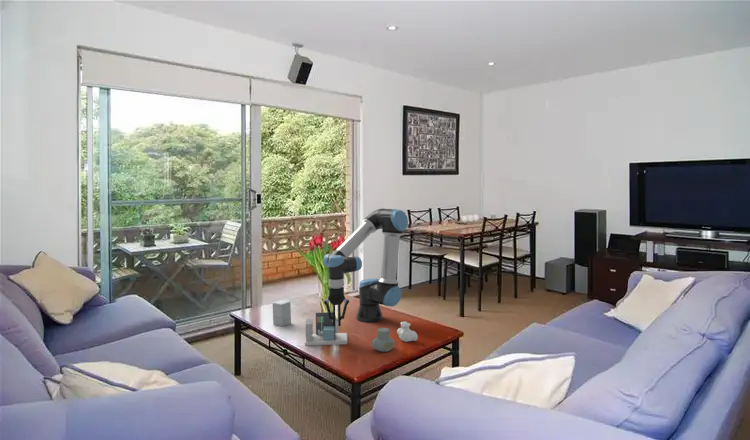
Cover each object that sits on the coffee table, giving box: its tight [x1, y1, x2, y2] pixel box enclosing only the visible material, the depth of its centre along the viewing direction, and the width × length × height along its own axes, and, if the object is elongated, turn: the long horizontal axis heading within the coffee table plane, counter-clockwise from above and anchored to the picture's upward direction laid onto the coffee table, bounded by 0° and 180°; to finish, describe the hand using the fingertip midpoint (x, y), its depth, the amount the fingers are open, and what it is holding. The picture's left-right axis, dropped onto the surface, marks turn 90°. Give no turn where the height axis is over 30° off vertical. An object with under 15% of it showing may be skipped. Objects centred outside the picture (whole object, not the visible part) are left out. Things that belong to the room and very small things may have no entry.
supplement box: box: [272, 299, 292, 327], centre depth 259 cm, size 7×7×13 cm
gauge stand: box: [304, 311, 348, 347], centre depth 232 cm, size 21×12×13 cm, turn 95°
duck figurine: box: [396, 321, 419, 343], centre depth 232 cm, size 12×8×11 cm
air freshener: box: [371, 327, 396, 353], centre depth 220 cm, size 11×8×10 cm
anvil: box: [305, 318, 314, 342], centre depth 231 cm, size 3×8×9 cm, turn 5°
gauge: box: [318, 316, 336, 340], centre depth 232 cm, size 9×8×10 cm
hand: (336, 332), depth 232 cm, fingers closed
